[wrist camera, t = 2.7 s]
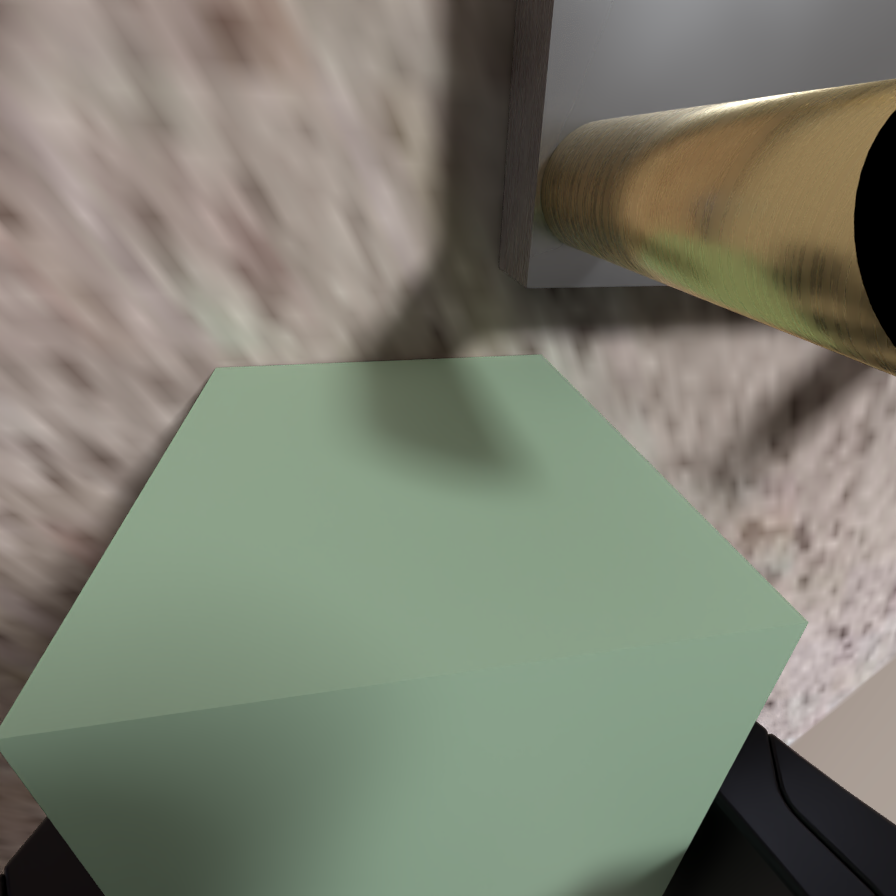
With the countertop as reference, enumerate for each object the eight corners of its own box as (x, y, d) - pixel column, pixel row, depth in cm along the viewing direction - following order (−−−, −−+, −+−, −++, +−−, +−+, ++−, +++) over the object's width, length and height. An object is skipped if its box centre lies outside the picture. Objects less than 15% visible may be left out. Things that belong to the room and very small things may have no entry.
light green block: (503, 681, 11) (601, 1008, 7) (291, 713, 10) (253, 1101, 6) (540, 354, 7) (807, 621, 3) (216, 367, 7) (-9, 741, 2)
